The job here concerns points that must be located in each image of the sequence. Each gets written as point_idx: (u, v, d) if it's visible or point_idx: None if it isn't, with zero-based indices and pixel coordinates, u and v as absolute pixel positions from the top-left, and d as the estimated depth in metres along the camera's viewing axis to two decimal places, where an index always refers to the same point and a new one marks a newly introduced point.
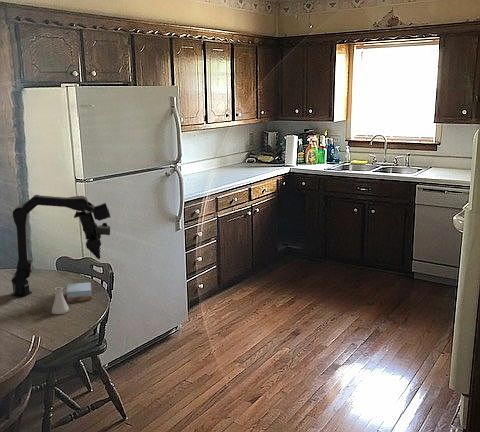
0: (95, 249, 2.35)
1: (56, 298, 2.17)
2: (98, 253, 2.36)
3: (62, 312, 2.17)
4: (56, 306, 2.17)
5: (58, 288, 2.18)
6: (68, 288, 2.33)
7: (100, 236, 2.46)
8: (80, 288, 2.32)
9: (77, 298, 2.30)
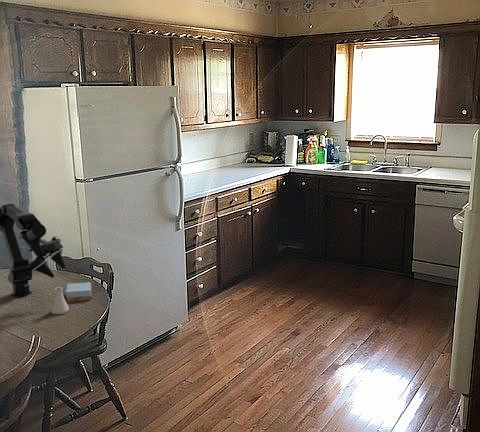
0: (44, 268, 2.16)
1: (56, 298, 2.17)
2: (48, 272, 2.17)
3: (62, 312, 2.17)
4: (56, 306, 2.17)
5: (58, 288, 2.18)
6: (68, 288, 2.33)
7: (59, 251, 2.26)
8: (80, 288, 2.32)
9: (77, 298, 2.30)
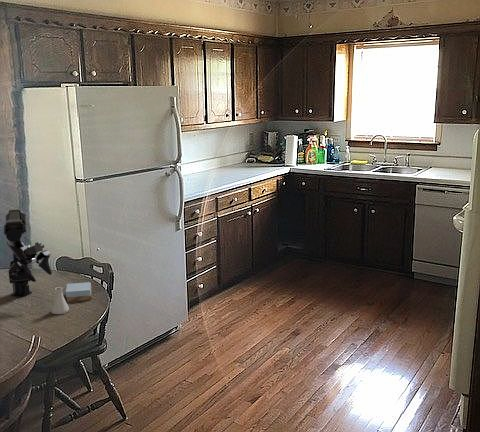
0: (25, 273, 2.14)
1: (56, 298, 2.17)
2: (29, 276, 2.14)
3: (62, 312, 2.17)
4: (56, 306, 2.17)
5: (58, 288, 2.18)
6: (68, 288, 2.33)
7: (45, 257, 2.24)
8: (79, 288, 2.32)
9: (77, 298, 2.30)
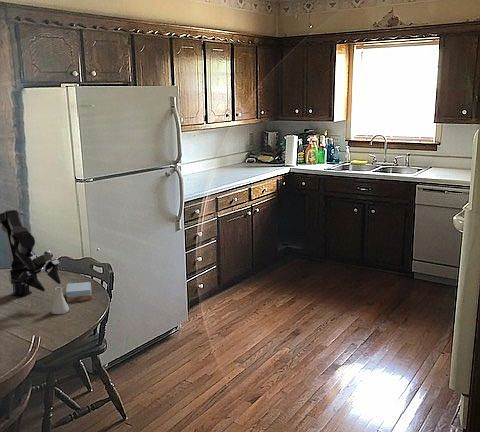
0: (34, 282, 2.14)
1: (56, 298, 2.17)
2: (38, 285, 2.13)
3: (62, 312, 2.17)
4: (56, 306, 2.17)
5: (58, 288, 2.18)
6: (68, 288, 2.33)
7: (54, 266, 2.23)
8: (79, 288, 2.33)
9: (77, 298, 2.30)
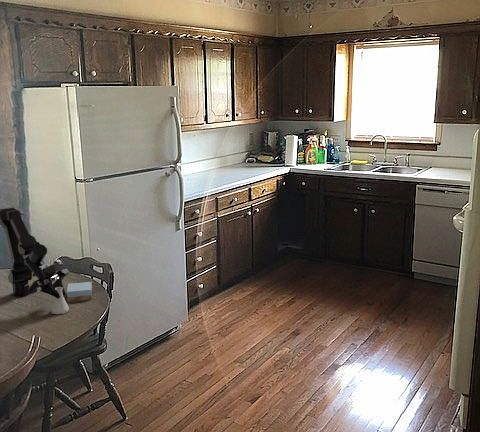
0: (49, 289, 2.16)
1: (56, 298, 2.17)
2: (54, 292, 2.15)
3: (62, 312, 2.17)
4: (56, 306, 2.17)
5: (58, 288, 2.18)
6: (69, 287, 2.33)
7: (59, 277, 2.19)
8: (80, 288, 2.33)
9: (77, 298, 2.30)
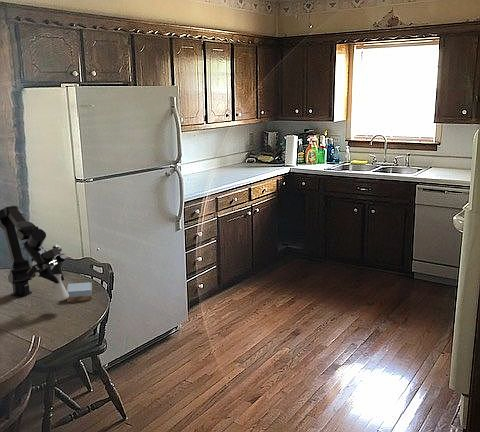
0: (48, 274, 2.14)
1: (55, 285, 2.16)
2: (52, 277, 2.14)
3: (61, 299, 2.15)
4: (55, 293, 2.15)
5: (57, 275, 2.17)
6: (68, 288, 2.33)
7: (57, 262, 2.18)
8: (80, 288, 2.32)
9: (77, 298, 2.30)
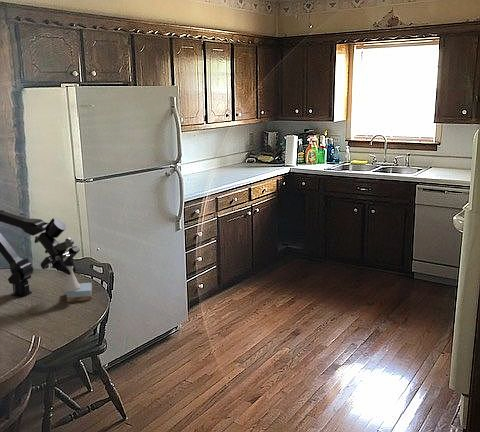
0: (60, 266, 2.24)
1: (67, 276, 2.25)
2: (64, 269, 2.23)
3: (73, 289, 2.25)
4: (67, 284, 2.25)
5: (69, 267, 2.27)
6: None
7: (70, 254, 2.27)
8: (80, 289, 2.32)
9: (77, 298, 2.30)
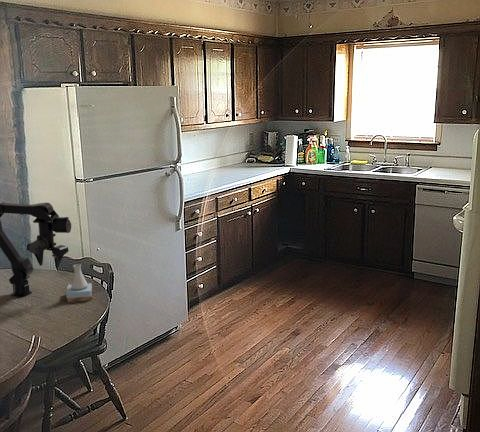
0: None
1: (75, 274, 2.31)
2: None
3: (80, 287, 2.31)
4: (75, 282, 2.31)
5: (77, 265, 2.33)
6: (68, 288, 2.33)
7: (52, 255, 2.28)
8: (80, 289, 2.32)
9: (77, 298, 2.30)
